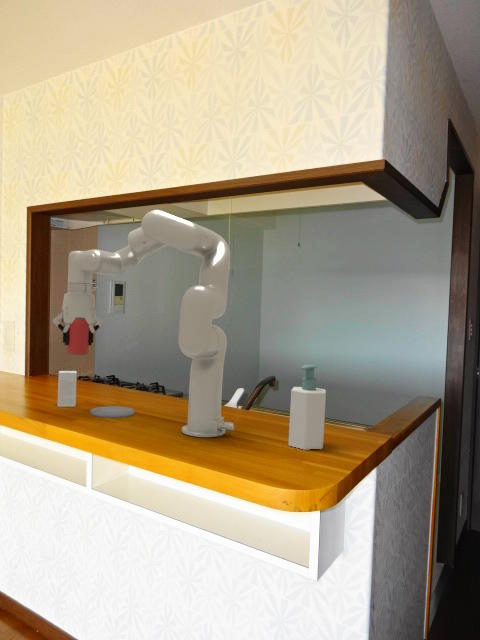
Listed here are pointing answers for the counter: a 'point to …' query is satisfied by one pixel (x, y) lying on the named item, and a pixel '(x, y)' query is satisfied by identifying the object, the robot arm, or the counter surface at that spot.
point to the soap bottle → (307, 413)
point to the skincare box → (67, 388)
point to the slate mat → (112, 412)
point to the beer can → (78, 337)
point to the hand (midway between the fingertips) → (77, 344)
